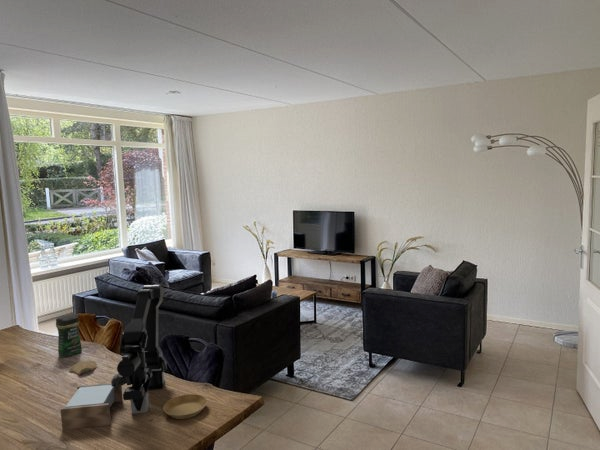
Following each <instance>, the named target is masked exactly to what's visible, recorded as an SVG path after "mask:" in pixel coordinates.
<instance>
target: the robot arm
mask: <svg viewBox="0 0 600 450" xmlns="http://www.w3.org/2000/svg"><path fill="white" fill-rule="evenodd" d="M164 295H165V288H164V287H162V285H161V284H146V285H145V284H144V285H143V287H141V288H138V291H137V299H136V303H135V307H134V310H133V314H132V317H131V320H130V322H129V323H128V324H127V325H126V326H125V327H124V328H125V329H124V330H123V332H122V334H121V339H120V340H121V341H120V346H119V354H124V355H123V356H122V357H121V360H120V361H118V364H117V367H116V371H117V373H116V374H115V375H113V376H112V378H111V380H110V383H112V385H111V386H114V387H115V389H116V388H118V387H120V386H124V385H126V386H127V388H125V390H124V391H123V392H122V396H123V401H130V400H132V401H133V403H134V405H135V407H136V410H137V411H140V410H141V406H142V403H143V400H144V396H145V393H146V392H148V390H158V389H163V388H164V385H165V383H166V379H165V377H164V376H165V375H164V372H165V371H167V370H168V367H167V366H168V365H167V363H168V362H167V360H166V359H165V356H164V355H163V351H162V349H161V347H160V346H159V307H160V306H161V304H162V302H163V299H164Z"/></svg>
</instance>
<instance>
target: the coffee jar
mask: <svg viewBox="0 0 600 450" xmlns="http://www.w3.org/2000/svg"><path fill="white" fill-rule="evenodd" d="M79 325H80V319H79V315H78V314H77V313H70V314H65V315H62V316H58V317H56V320H55V327H56V328H57V332H58V333H57V335H58V341H57V342H58V343H57V344H58V345H57V346H58V347H57V348H58V350H57V353H58V356H60V357H62V358H63V357H64V358H68V357H71V356H74V355H77V354H80V353H82V351H83V348H82V342H81V337H80V333H79Z"/></svg>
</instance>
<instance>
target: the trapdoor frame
mask: <svg viewBox="0 0 600 450" xmlns="http://www.w3.org/2000/svg"><path fill="white" fill-rule="evenodd" d="M111 384H112V383H111V382H106V383H95V384H85V385H84V384H83V385H77V388H76V389H77V390H78V389H79V388H80V387H90V386H100V385H111ZM122 386H123V385H122ZM122 386H120V387H118V388H116V389H115V387H114V393H115V399H114V401H113V403H117V402H118V403H120V402H123V401H124V400H123V387H122ZM65 407H66V406H65ZM65 407H61V408H60V419H61V429H62V430H63V431H64V430H72V429H74V430H75V429H81V428H92V427H101V426H102V427H103V426H109V425H112V418H111V407H110V406H109V403H107V404H96V405H86V406H76V407H66V408H65Z"/></svg>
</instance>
